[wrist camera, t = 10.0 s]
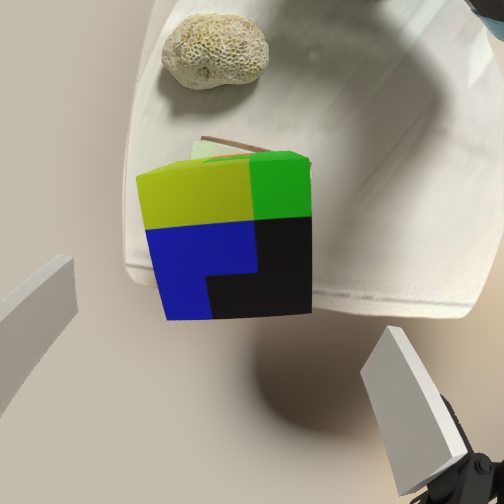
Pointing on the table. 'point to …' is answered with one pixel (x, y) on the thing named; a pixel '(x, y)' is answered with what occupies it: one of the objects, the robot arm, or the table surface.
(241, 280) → the puzzle toy
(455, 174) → the table surface
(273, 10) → the table surface
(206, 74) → the decorative item
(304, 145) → the table surface
